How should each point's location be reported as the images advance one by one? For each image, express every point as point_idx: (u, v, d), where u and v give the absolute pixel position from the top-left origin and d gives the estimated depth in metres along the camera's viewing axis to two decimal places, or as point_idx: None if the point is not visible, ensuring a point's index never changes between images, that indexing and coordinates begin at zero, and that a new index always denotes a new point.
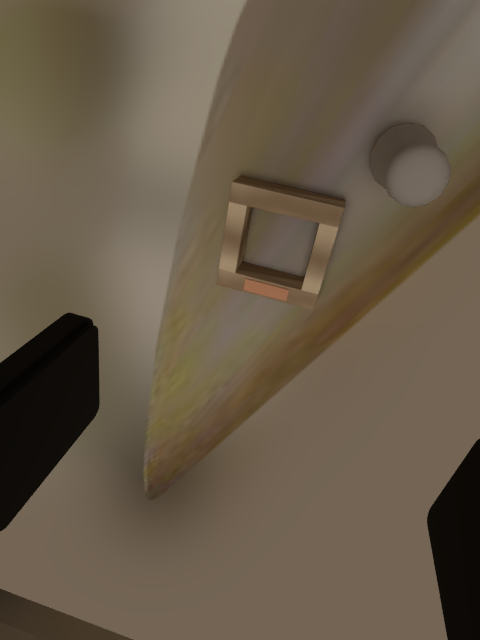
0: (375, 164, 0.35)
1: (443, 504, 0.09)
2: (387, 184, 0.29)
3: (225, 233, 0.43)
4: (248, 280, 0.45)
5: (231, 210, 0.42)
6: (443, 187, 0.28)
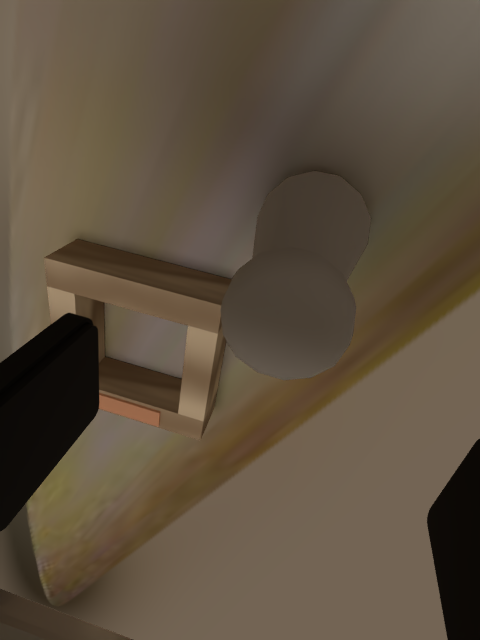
0: None
1: (443, 504, 0.09)
2: (224, 334, 0.13)
3: None
4: (100, 395, 0.29)
5: (53, 298, 0.26)
6: (339, 352, 0.12)
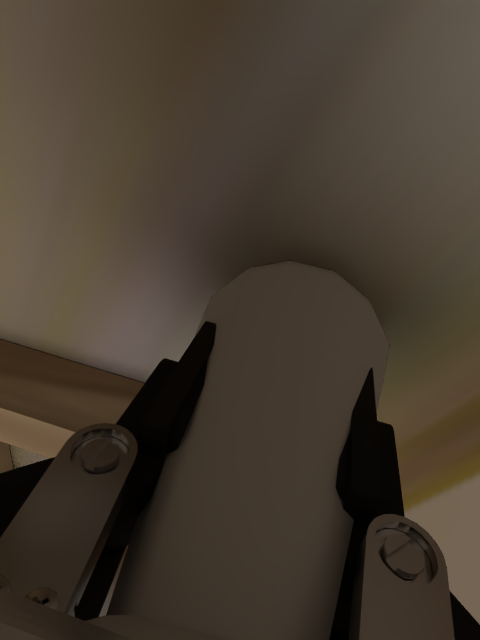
0: None
1: None
2: None
3: None
4: None
5: None
6: None
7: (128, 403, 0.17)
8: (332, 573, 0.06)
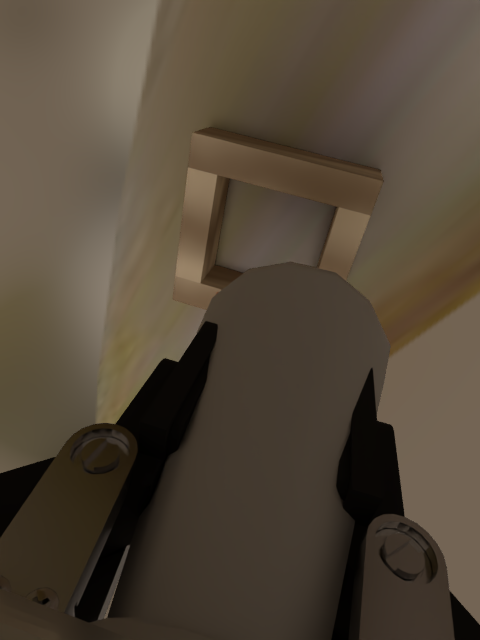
0: None
1: None
2: None
3: (183, 220, 0.27)
4: None
5: (192, 181, 0.25)
6: None
7: (353, 166, 0.24)
8: (333, 575, 0.06)
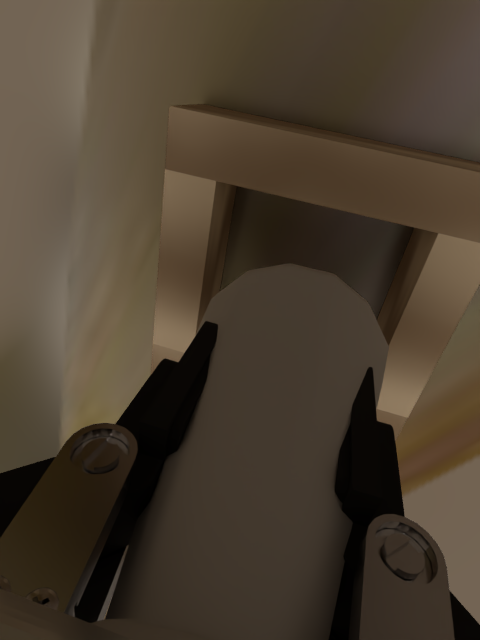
0: None
1: None
2: None
3: (161, 258, 0.16)
4: None
5: (173, 193, 0.15)
6: None
7: (456, 161, 0.14)
8: (331, 576, 0.06)
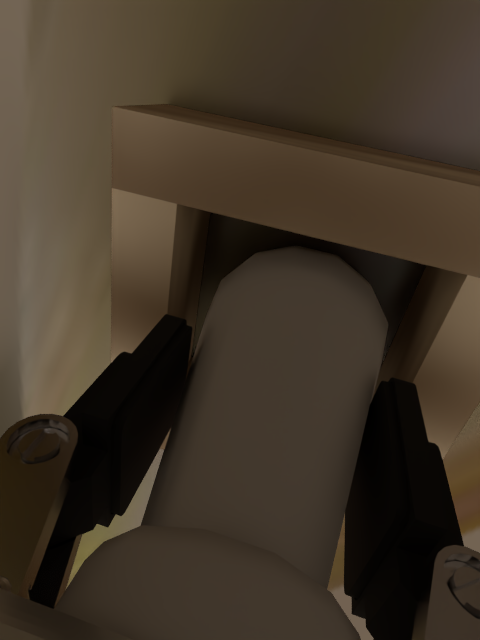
0: None
1: None
2: None
3: (115, 297, 0.13)
4: None
5: (124, 219, 0.11)
6: None
7: None
8: (336, 508, 0.07)
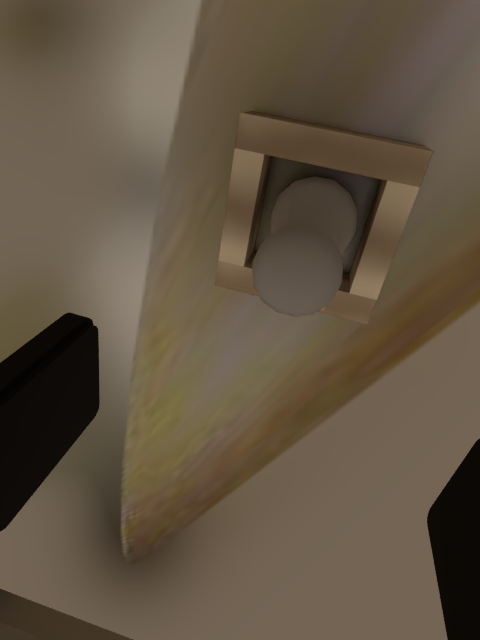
0: None
1: (443, 504, 0.09)
2: (254, 284, 0.19)
3: (228, 202, 0.27)
4: None
5: (238, 162, 0.25)
6: (332, 293, 0.18)
7: (398, 142, 0.25)
8: None
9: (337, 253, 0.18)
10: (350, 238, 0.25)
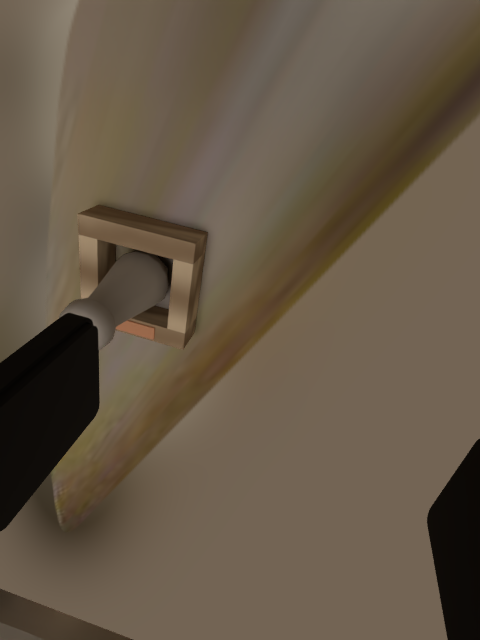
0: None
1: (443, 504, 0.09)
2: None
3: (81, 267, 0.39)
4: None
5: (82, 243, 0.38)
6: (102, 340, 0.31)
7: (185, 232, 0.37)
8: (120, 305, 0.34)
9: (103, 317, 0.31)
10: (155, 295, 0.38)
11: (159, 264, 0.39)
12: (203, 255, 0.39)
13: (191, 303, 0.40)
